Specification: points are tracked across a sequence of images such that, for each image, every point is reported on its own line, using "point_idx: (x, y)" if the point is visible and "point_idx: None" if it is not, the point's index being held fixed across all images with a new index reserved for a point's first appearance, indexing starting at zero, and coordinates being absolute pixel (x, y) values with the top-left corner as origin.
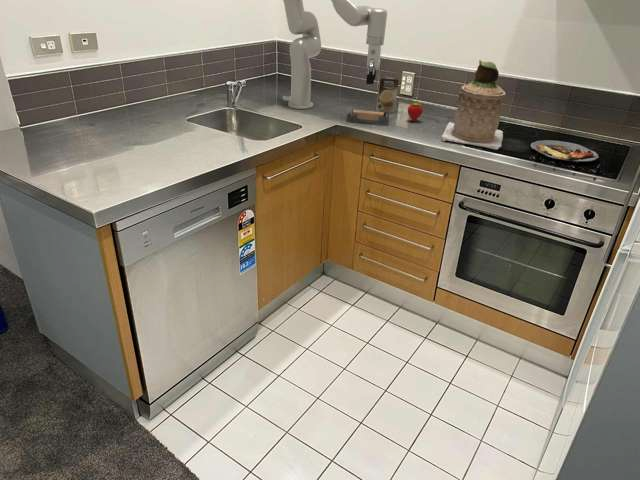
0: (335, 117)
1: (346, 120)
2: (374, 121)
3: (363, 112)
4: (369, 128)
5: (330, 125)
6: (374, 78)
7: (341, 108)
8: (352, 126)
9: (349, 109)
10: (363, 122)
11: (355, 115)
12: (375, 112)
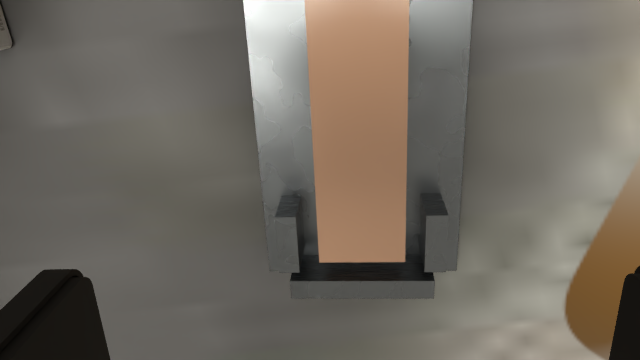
0: (352, 343)
1: (456, 265)
2: (440, 20)
3: (389, 163)
4: (608, 46)
5: (577, 350)
6: (80, 292)
7: None
8: (572, 198)
9: (292, 293)
10: (464, 123)
11: (446, 221)
12: (345, 37)
